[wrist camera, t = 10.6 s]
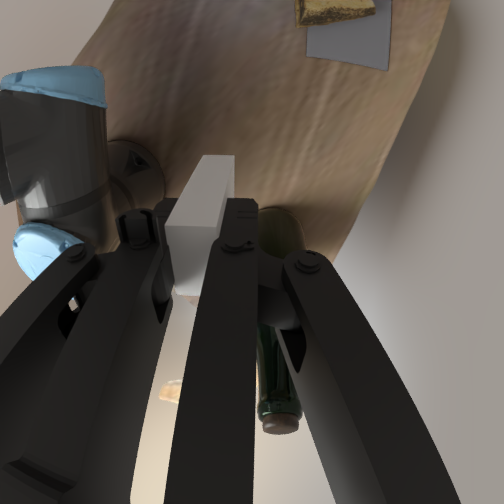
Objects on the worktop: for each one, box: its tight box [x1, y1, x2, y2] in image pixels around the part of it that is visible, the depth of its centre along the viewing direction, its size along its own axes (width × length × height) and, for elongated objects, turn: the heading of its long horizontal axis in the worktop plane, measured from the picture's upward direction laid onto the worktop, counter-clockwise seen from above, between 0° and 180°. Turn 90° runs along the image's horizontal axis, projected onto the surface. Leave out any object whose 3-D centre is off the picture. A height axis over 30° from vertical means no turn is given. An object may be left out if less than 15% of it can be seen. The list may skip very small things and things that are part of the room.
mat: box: [306, 0, 391, 71], centre depth 26 cm, size 12×20×1 cm, turn 178°
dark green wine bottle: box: [256, 208, 307, 435], centre depth 36 cm, size 10×10×33 cm
